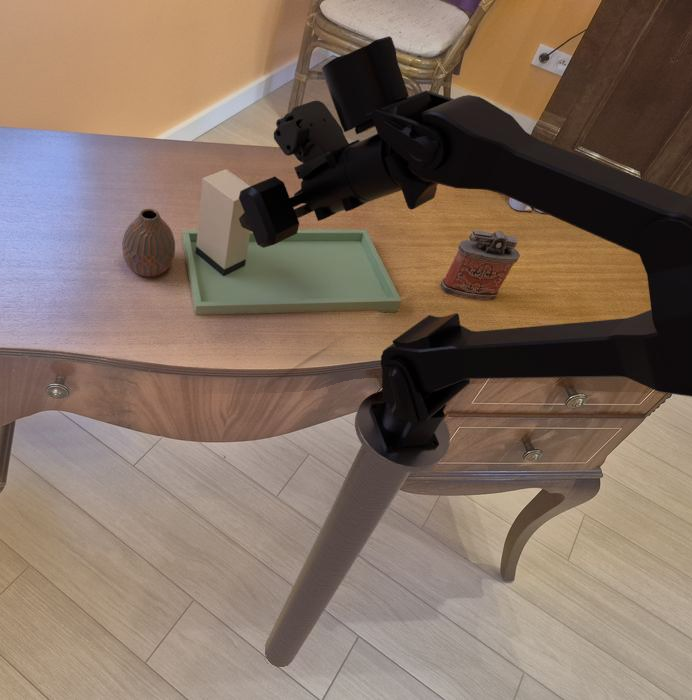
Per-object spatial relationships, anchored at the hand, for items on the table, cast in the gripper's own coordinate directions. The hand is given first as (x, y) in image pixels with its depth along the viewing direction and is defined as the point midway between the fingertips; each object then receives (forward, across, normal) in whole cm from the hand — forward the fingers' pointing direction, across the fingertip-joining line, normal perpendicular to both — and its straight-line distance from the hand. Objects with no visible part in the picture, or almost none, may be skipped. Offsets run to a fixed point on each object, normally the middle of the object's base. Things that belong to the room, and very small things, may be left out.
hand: (269, 210), depth 73 cm
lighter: (-3, -26, +22) cm, 34 cm away
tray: (+9, -6, +9) cm, 14 cm away
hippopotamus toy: (+2, -58, +16) cm, 60 cm away
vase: (+18, +9, +1) cm, 20 cm away
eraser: (+14, 0, +4) cm, 14 cm away
